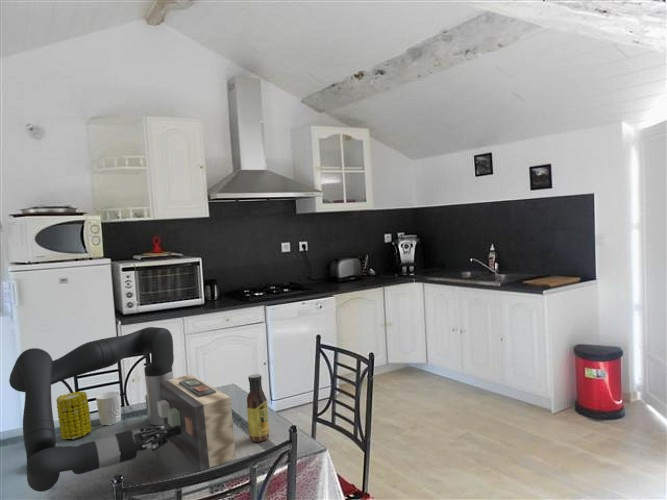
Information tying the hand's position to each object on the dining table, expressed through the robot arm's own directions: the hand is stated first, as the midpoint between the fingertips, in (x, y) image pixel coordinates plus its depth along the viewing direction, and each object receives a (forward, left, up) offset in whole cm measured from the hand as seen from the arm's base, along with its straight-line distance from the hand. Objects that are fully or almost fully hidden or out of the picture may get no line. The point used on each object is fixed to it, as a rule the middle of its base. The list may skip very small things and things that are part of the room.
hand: (180, 429), depth 145 cm
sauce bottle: (+9, +23, -11) cm, 27 cm away
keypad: (-6, +12, -11) cm, 17 cm away
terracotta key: (+1, +3, -2) cm, 4 cm away
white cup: (-52, +15, -11) cm, 55 cm away
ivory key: (-18, +10, -2) cm, 20 cm away
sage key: (-9, +6, -2) cm, 10 cm away
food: (-54, +3, -11) cm, 55 cm away
